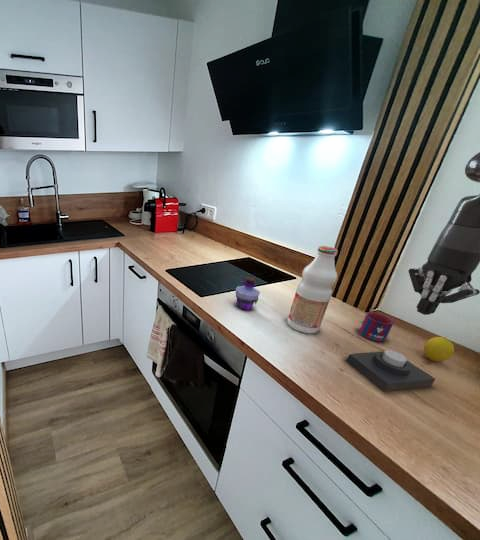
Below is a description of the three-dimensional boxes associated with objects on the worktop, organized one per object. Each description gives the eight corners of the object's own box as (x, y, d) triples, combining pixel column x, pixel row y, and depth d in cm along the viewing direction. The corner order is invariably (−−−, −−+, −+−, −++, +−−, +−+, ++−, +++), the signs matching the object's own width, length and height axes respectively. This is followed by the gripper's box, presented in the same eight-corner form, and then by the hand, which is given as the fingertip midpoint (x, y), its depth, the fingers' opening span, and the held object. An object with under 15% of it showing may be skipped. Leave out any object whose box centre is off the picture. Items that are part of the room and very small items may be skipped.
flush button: (391, 355, 78) (394, 349, 77) (408, 366, 74) (411, 360, 73) (377, 356, 77) (380, 350, 76) (393, 368, 73) (397, 362, 72)
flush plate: (388, 357, 83) (394, 345, 81) (430, 386, 73) (439, 373, 71) (346, 361, 81) (351, 348, 79) (383, 391, 71) (391, 378, 69)
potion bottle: (259, 314, 103) (266, 284, 99) (234, 311, 105) (240, 282, 100) (253, 302, 111) (259, 274, 106) (230, 300, 112) (235, 272, 108)
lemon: (446, 369, 79) (461, 346, 76) (419, 360, 82) (431, 337, 79) (444, 360, 83) (458, 337, 80) (418, 351, 86) (430, 329, 83)
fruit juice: (296, 334, 93) (323, 253, 82) (281, 318, 101) (303, 243, 90) (324, 334, 93) (355, 254, 82) (307, 318, 101) (332, 244, 90)
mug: (361, 338, 92) (369, 320, 89) (355, 322, 100) (362, 306, 97) (387, 344, 89) (396, 326, 86) (379, 328, 97) (387, 311, 94)
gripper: (516, 256, 57) (469, 328, 64) (439, 236, 69) (407, 299, 76) (486, 256, 56) (442, 329, 63) (413, 236, 68) (383, 300, 75)
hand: (423, 312), depth 69 cm, fingers closed
